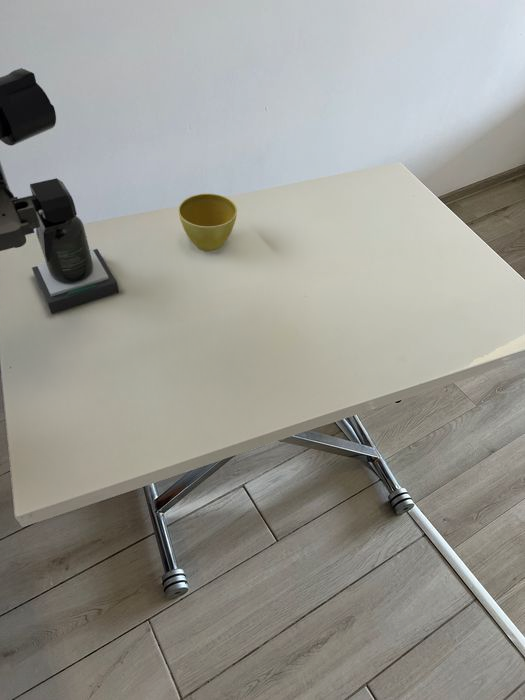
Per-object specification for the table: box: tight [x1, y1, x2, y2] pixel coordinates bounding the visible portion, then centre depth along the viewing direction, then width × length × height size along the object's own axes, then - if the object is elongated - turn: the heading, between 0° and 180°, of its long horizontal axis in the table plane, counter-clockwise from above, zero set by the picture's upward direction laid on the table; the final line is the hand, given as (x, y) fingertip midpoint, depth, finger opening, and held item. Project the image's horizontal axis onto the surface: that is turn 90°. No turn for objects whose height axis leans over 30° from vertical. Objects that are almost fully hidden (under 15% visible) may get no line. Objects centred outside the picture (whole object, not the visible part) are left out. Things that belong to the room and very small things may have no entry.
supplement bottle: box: [35, 215, 93, 283], centre depth 81 cm, size 7×7×12 cm
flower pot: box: [178, 193, 238, 252], centre depth 94 cm, size 10×10×7 cm
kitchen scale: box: [31, 248, 120, 315], centre depth 87 cm, size 11×10×3 cm
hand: (12, 269), depth 70 cm, fingers open, 9 cm apart
